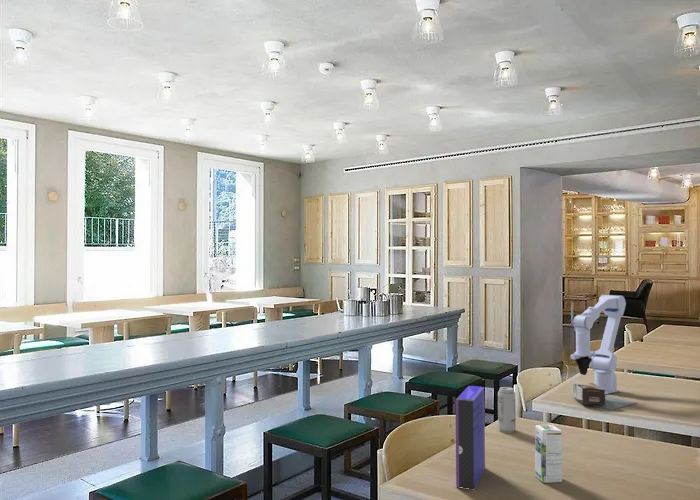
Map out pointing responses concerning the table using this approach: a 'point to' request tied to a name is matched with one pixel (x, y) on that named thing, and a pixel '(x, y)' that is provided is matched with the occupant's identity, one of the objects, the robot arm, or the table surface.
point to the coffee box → (588, 393)
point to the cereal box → (470, 436)
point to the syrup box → (548, 453)
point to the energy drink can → (506, 410)
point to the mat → (613, 403)
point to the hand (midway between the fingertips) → (583, 374)
